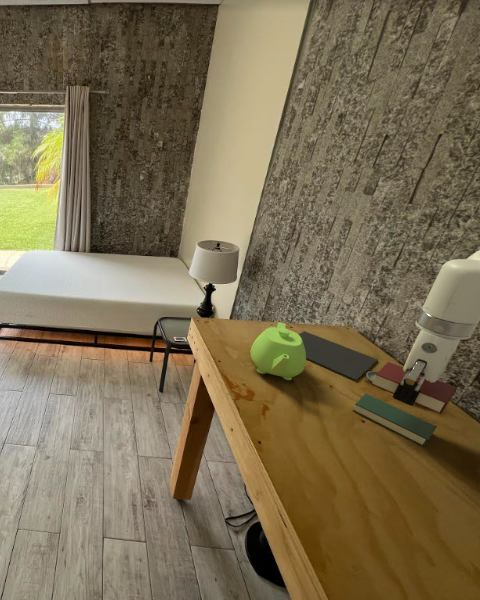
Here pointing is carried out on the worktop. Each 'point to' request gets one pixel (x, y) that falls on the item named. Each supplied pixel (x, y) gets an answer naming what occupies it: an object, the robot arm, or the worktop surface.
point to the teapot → (279, 352)
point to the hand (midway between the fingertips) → (408, 393)
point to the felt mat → (336, 356)
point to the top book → (430, 394)
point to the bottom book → (395, 419)
